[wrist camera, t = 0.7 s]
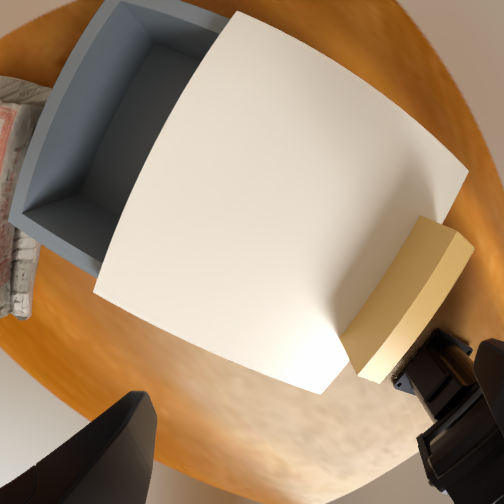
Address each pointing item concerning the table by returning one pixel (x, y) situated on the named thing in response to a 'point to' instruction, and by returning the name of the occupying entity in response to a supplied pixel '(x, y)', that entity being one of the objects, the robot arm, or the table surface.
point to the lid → (288, 216)
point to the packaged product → (3, 188)
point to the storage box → (107, 122)
